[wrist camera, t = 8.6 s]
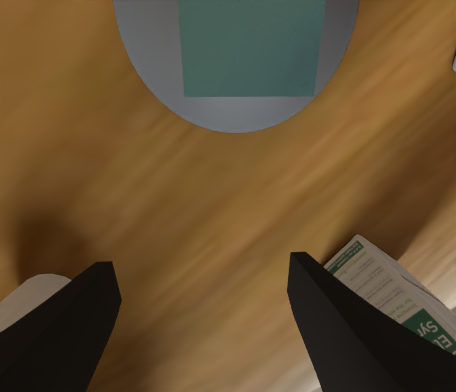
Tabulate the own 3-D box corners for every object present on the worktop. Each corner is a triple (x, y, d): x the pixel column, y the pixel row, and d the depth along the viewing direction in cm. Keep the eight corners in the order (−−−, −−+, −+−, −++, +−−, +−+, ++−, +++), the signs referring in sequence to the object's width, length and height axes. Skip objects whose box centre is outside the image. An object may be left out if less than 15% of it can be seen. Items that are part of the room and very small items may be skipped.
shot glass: (93, 271, 21) (40, 350, 15) (97, 328, 24) (54, 416, 17) (6, 263, 20) (-89, 343, 14) (20, 323, 23) (-55, 414, 17)
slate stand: (367, -141, 12) (387, -170, 11) (327, 128, 17) (337, 131, 16) (100, -151, 12) (84, -184, 10) (139, 130, 17) (133, 134, 15)
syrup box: (356, 230, 21) (606, 476, 8) (400, 262, 23) (669, 511, 9) (310, 275, 23) (448, 542, 9) (354, 302, 24) (526, 562, 11)
